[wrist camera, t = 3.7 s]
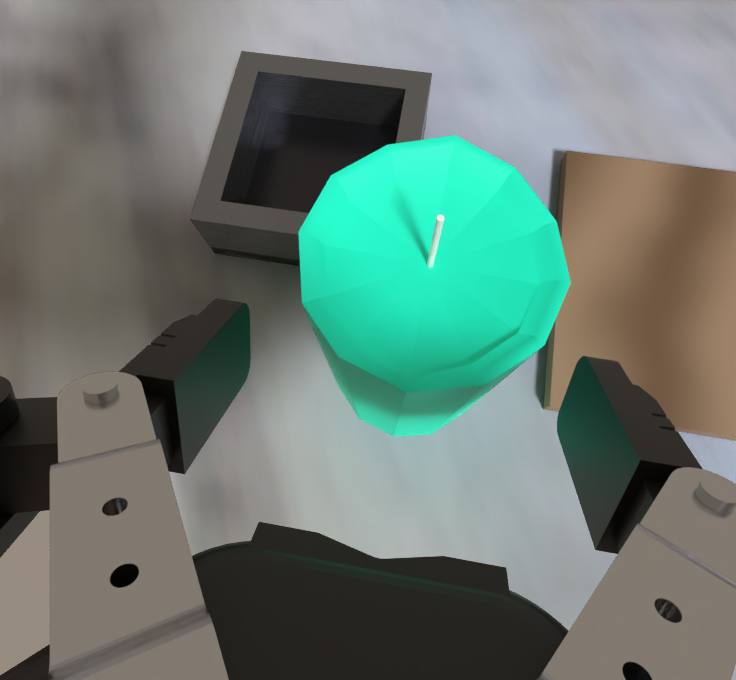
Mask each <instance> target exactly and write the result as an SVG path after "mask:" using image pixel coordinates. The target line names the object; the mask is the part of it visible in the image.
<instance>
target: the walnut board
mask: <svg viewBox="0 0 736 680" xmlns="http://www.w3.org/2000/svg"><path fill="white" fill-rule="evenodd" d="M557 225H558V229H559V234H560V238H561V242H562V247H563V251H564V255H565V260H566V264H567V268H568V272H569V277H570V281H571V283H570V286H569V288H568V291H567V293H566V295H565V298H564V300H563V303H562V305H561V307H560V310H559V312H558V315H557V317H556V319H555V322H554V324H553V327H552V329H551V331H550V334H549V337H548V350H547V364H546V378H545V392H544V406H543V409H547V410H553V411H559V410H560V407H561V404H562V402H563V399H564V396H565V393H566V391H567V388H568V385H569V383H570V380H571V377H572V374H573V372H574V369H575V366H576V364H577V362H578V360H579V359H580V358H581V357H582V356H588V357H594V358H601V359H607V360H614V361H617V362H619V364H620V365H621V367H622V368H623V370H624V371H625V373H626V375H627V376H628V378H629V379H630V381H631V383H632V384H633V385H638V386H640V387H641V388H642V389H643V390H645V391H646V392H647V393H648V394H650V395H651V396H652V397H653V398H655V399H656V400H657V402H658V403H659V405H660V406H661V408H662V409H663V411H664V412H665V414H666V415H667V416H666V418H669V420H670V421H671V423H672V424H673V426H674V427H675V431H681V432H687V433H693V434H699V435H705V436H711V437H717V438H723V439H729V440H735V441H736V172H731V171H723V170H715V169H707V168H699V167H691V166H683V165H675V164H667V163H659V162H651V161H643V160H636V159H628V158H620V157H612V156H604V155H596V154H588V153H580V152H572V151H567V152H566V154H565V156H564V158H563V159H562V161H561V169H560V183H559V197H558V211H557Z"/></svg>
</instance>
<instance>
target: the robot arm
mask: <svg viewBox="0 0 736 680" xmlns="http://www.w3.org/2000/svg"><path fill="white" fill-rule="evenodd" d="M249 368H250V315H249V308H248V305H247V304H246V303H240V302H233V301H227V300H220V299H215V300H214V301H212V302H211V303H210V304H209V305H208V306H207V307H206V308H205V309H204V310H203V311H202V312H201V313H200V314H199V315H198V316H196V315H190V316H188V317H186V318H183V319H181V320H179V321H176V322H174V323H173V324H171V325H170V326H169V327H168V328H167V329H166V330H165V331H164V332H163V333H161V336H158V337H157V338H156V339H155V340H154V341H153V342H151V345H148V346H147V347H146V348H145V349H144V350H143V351H141V352H140V353H139V354H138V355H137V356H136V357H135V358H134V359H133V360H131V361H130V362H129V363H128V364H127V365H126V366H125V367H124V368H123V369H121V370H120V371H119V372H101V373H95V374H91V375H87V376H84V377H82V378H79V379H77V380H75V381H73V382H71V383H70V384H68V385H67V386H66V387H64V388H63V389H62V390H61V392H60V393H59V395H58V397H51V398H26V399H16V398H15V395H14V392H13V389H12V386H11V383H10V382H9V381H8V380H7V379H6V378H4V377H1V376H0V557H1V556H2V555H3V554H4V553H5V552H6V550H7V549H8V548H9V547H10V545H11V544H12V543H13V542H14V541H15V540H16V539H17V537H18V536H19V535H20V534H21V533H22V532H23V530H24V529H25V528H26V527H27V526H28V524H29V523H30V522H31V521H32V520H33V519H34V517H35V516H36V515H37V514H38V513H39V512H40V511H44V510H50V644H49V645H48V646H46V647H45V648H43V649H42V650H40V651H38V652H37V653H35V654H34V655H32V656H30V657H29V658H27V659H26V660H24V661H23V662H21V663H20V664H18V665H17V666H15V667H13V668H11V669H10V670H8V671H7V672H5V673H4V674H2V675H0V680H731V678H732V675H733V671H734V668H735V664H736V484H735V483H733V482H731V481H730V480H728V479H726V478H724V477H722V476H720V475H718V474H715V473H712V472H710V471H707V470H703V469H702V467H701V466H700V464H699V463H698V461H697V460H696V458H695V457H694V455H693V454H692V452H691V451H690V449H689V448H688V446H687V445H686V444H685V442H684V441H683V439H682V438H681V436H680V435H679V433H678V432H677V431H675V427H674V426H673V424H672V423H671V421H670V420H669V418H666V416H667V415H666V414H665V412H664V411H663V409H662V408H661V406H660V405H659V403H658V402H657V400H656V399H655V398H653V397H652V396H651V395H650V394H648V393H647V392H646V391H645V390H643V389H642V388H641V387H640V386H638V385H633V384H632V383H631V381H630V379H629V378H628V376H627V375H626V373H625V371H624V370H623V368H622V367H621V365H620V364H619V362H617V361H614V360H607V359H601V358H594V357H588V356H582V357H581V358H580V359H579V360H578V362H577V364H576V366H575V369H574V372H573V374H572V377H571V380H570V383H569V385H568V388H567V391H566V393H565V396H564V399H563V402H562V404H561V407H560V410H559V414H558V420H557V432H558V436H559V440H560V443H561V446H562V449H563V452H564V455H565V458H566V461H567V464H568V467H569V470H570V473H571V476H572V480H573V483H574V486H575V489H576V492H577V495H578V498H579V501H580V504H581V507H582V510H583V513H584V516H585V519H586V523H587V526H588V529H589V532H590V535H591V538H592V541H593V544H594V547H595V550H599V551H605V552H610V553H616V554H618V555H617V556H616V558H615V560H614V561H613V563H612V564H611V566H610V567H609V569H608V571H607V572H606V574H605V575H604V577H603V578H602V580H601V581H600V583H599V585H598V586H597V588H596V589H595V591H594V592H593V594H592V596H591V597H590V599H589V600H588V602H587V603H586V605H585V607H584V608H583V610H582V611H581V613H580V614H579V616H578V618H577V619H576V621H575V622H574V624H573V625H572V627H571V629H570V630H569V631H568V630H567V629H566V628H565V627H564V626H563V625H562V624H561V623H559V622H558V621H557V620H556V619H555V618H553V617H552V616H551V615H550V614H549V613H547V612H546V611H544V610H543V609H542V608H540V607H539V606H537V605H536V604H534V603H533V602H531V601H529V600H528V599H526V598H524V597H522V596H520V595H519V594H517V593H515V592H512V591H510V590H509V586H508V579H507V571H506V568H505V567H499V566H494V565H488V564H483V563H478V562H472V561H467V560H462V559H456V558H451V557H445V556H437V557H415V558H394V559H379V558H375V557H372V556H370V555H367V554H365V553H363V552H361V551H358V550H356V549H354V548H351V547H349V546H347V545H345V544H342V543H340V542H338V541H336V540H333V539H331V538H329V537H326V536H324V535H322V534H320V533H316V532H311V531H305V530H300V529H295V528H289V527H284V526H279V525H273V524H268V523H262V522H259V523H258V525H257V528H256V530H255V533H254V535H253V537H252V540H251V541H244V542H237V543H230V544H225V545H222V546H218V547H214V548H211V549H208V550H205V551H203V552H200V553H197V554H195V555H193V556H192V555H191V552H190V548H189V544H188V541H187V537H186V533H185V530H184V526H183V522H182V519H181V515H180V511H179V508H178V504H177V500H176V497H175V493H174V489H173V486H172V482H171V478H170V475H169V471H170V472H176V473H182V474H185V473H186V471H187V470H188V468H189V467H190V465H191V464H192V462H193V461H194V459H195V457H196V456H197V454H198V453H199V451H200V450H201V448H202V447H203V445H204V444H205V442H206V441H207V439H208V438H209V436H210V435H211V433H212V432H213V430H214V429H215V427H216V425H217V424H218V422H219V421H220V419H221V418H222V416H223V415H224V413H225V412H226V410H227V409H228V407H229V406H230V404H231V403H232V401H233V400H234V398H235V396H236V395H237V393H238V392H239V390H240V389H241V387H242V386H243V384H244V383H245V381H246V378H247V376H248V372H249Z"/></svg>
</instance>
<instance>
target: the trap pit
mask: <svg viewBox="0 0 736 680" xmlns="http://www.w3.org/2000/svg"><path fill="white" fill-rule="evenodd" d="M431 76H432V73H426V72H417V71H408V70H400V69H391V68H383V67H374V66H365V65H357V64H348V63H340V62H331V61H322V60H314V59H305V58H297V57H288V56H279V55H271V54H262V53H253V52H245V51H242V52H241V55H240V58H239V62H238V65H237V68H236V71H235V75H234V78H233V81H232V84H231V87H230V91H229V94H228V97H227V100H226V104H225V107H224V110H223V113H222V117H221V120H220V123H219V126H218V130H217V133H216V136H215V139H214V142H213V146H212V149H211V152H210V155H209V159H208V162H207V165H206V168H205V172H204V175H203V178H202V181H201V185H200V188H199V191H198V194H197V197H196V201H195V204H194V207H193V210H192V214H191V217H190V220H191V221H192V223H193V224H194V225H195V227H196V228H197V230H198V231H199V232H200V234H201V235H202V236H203V238H204V239H205V240H206V242H207V243H208V245H209V246H210V247H211V249H212V250H213V251H214V253H218V254H224V255H231V256H238V257H245V258H251V259H258V260H265V261H272V262H278V263H285V264H292V265H299V266H300V255H299V234H298V232H299V230H300V228H301V227H302V225H303V223H304V221H305V220H306V218H307V216H308V214H309V213H310V211H311V209H312V207H313V206H314V204H315V202H316V200H317V199H318V197H319V195H320V194H321V192H322V190H323V188H324V187H325V185H326V183H327V181H328V180H329V178H330V176H331V175H332V174H334V173H336V172H338V171H340V170H342V169H343V168H345V167H347V166H349V165H351V164H353V163H355V162H356V161H358V160H360V159H362V158H364V157H366V156H367V155H369V154H371V153H373V152H375V151H377V150H379V149H380V148H382V147H384V146H386V145H388V144H396V143H403V142H410V141H418V140H423V136H424V130H425V124H426V117H427V109H428V101H429V93H430V84H431Z"/></svg>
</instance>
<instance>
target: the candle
mask: <svg viewBox="0 0 736 680" xmlns="http://www.w3.org/2000/svg"><path fill="white" fill-rule="evenodd" d="M298 234H299V255H300V275H301V295H302V304H303V307H304V309H305V311H306V313H307V315H308V318H309V320H310V322H311V324H312V327H313V329H314V331H315V333H316V336H317V338H318V340H319V342H320V344H321V347H322V349H323V351H324V353H325V356H326V358H327V360H328V362H329V365H330V367H331V369H332V371H333V373H334V376H335V378H336V380H337V382H338V385H339V387H340V389H341V390H342V392H343V393H344V395H345V397H346V398H347V400H348V401H349V403H350V404H351V406H352V407H353V409H354V411H355V412H356V414H357V415H358V417H359V418H360V419H361V420H363V421H365V422H367V423H369V424H371V425H373V426H375V427H377V428H379V429H380V430H382V431H384V432H386V433H388V434H390V435H392V436H407V435H425V434H433V433H434V432H436V431H437V430H439V429H440V428H442V427H443V426H444V425H446V424H447V423H449V422H450V421H452V420H453V419H455V418H456V417H458V416H459V415H461V414H462V413H463V412H465V411H466V410H467V409H468V408H469V407H471V406H472V405H473V404H474V403H475V402H477V401H478V400H479V399H480V398H482V397H483V396H484V395H485V394H486V393H488V392H489V391H490V390H491V389H492V388H494V387H495V386H496V385H497V384H498V383H500V382H501V381H502V380H503V379H504V378H506V377H507V376H508V375H509V374H510V373H512V372H513V371H514V370H515V369H516V368H518V367H519V366H520V365H521V364H522V363H524V362H525V361H526V360H527V359H528V358H530V357H531V356H532V355H533V354H534V353H536V352H537V351H538V350H539V349H540V348H542V347H543V346H544V345H545V343H546V341H547V339H548V336H549V334H550V331H551V329H552V327H553V324H554V322H555V319H556V317H557V315H558V312H559V310H560V307H561V305H562V303H563V300H564V298H565V295H566V293H567V291H568V288H569V286H570V283H571V281H570V277H569V272H568V268H567V264H566V260H565V255H564V251H563V247H562V242H561V238H560V234H559V229H558V225H557V221H556V220H555V218H554V217H553V216H552V215H551V213H550V212H549V211H548V209H547V208H546V207H545V205H544V204H543V203H542V202H541V200H540V199H539V198H538V196H537V195H536V194H535V192H534V191H533V190H532V189H531V187H530V186H529V185H528V183H527V182H526V181H525V179H524V178H523V177H522V176H521V174H520V173H519V172H518V170H517V169H516V168H515V167H513V166H511V165H509V164H508V163H506V162H504V161H502V160H500V159H498V158H496V157H494V156H493V155H491V154H489V153H487V152H485V151H483V150H481V149H480V148H478V147H476V146H474V145H472V144H470V143H468V142H467V141H465V140H463V139H461V138H459V137H457V136H447V137H440V138H433V139H425V140H418V141H410V142H403V143H396V144H388V145H386V146H384V147H382V148H380V149H379V150H377V151H375V152H373V153H371V154H369V155H367V156H366V157H364V158H362V159H360V160H358V161H356V162H355V163H353V164H351V165H349V166H347V167H345V168H343V169H342V170H340V171H338V172H336V173H334V174H332V175H331V176H330V178H329V180H328V181H327V183H326V185H325V187H324V188H323V190H322V192H321V194H320V195H319V197H318V199H317V200H316V202H315V204H314V206H313V207H312V209H311V211H310V213H309V214H308V216H307V218H306V220H305V221H304V223H303V225H302V227H301V228H300V230H299V232H298Z"/></svg>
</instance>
